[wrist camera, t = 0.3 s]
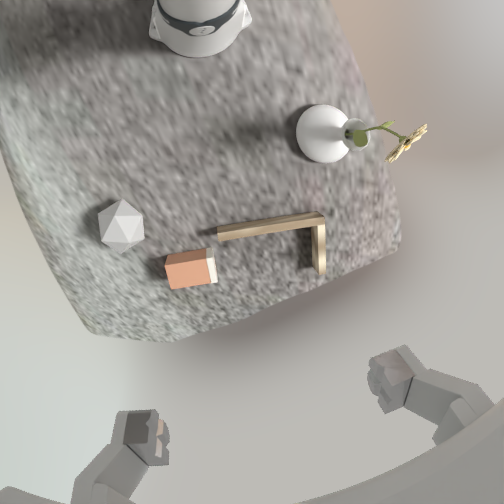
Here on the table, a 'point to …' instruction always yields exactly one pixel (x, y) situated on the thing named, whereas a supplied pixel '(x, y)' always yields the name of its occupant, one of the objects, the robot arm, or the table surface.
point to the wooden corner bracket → (282, 224)
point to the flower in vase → (341, 134)
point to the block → (191, 268)
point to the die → (121, 226)
